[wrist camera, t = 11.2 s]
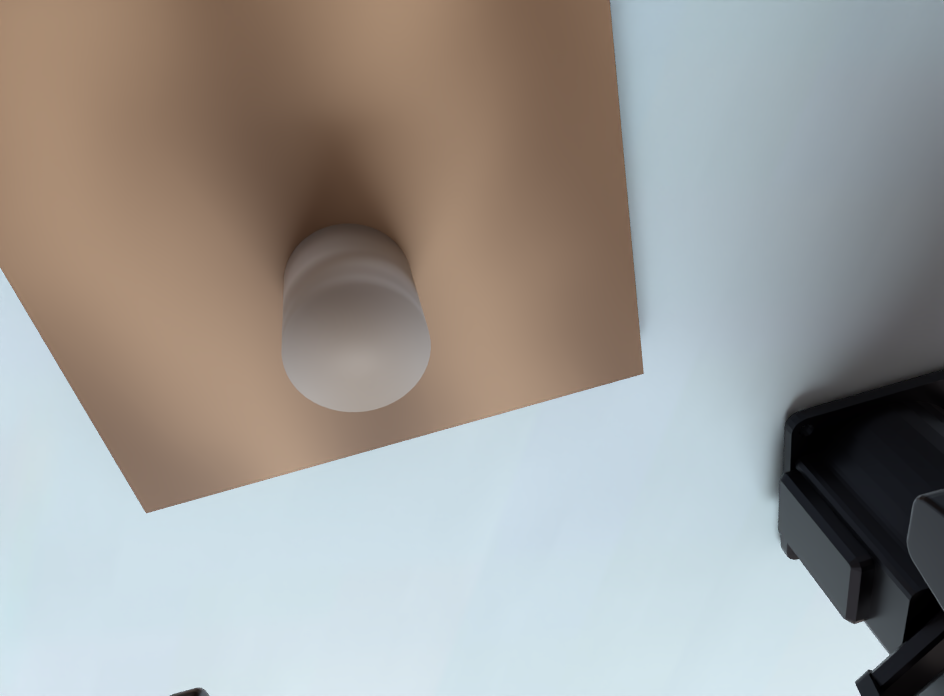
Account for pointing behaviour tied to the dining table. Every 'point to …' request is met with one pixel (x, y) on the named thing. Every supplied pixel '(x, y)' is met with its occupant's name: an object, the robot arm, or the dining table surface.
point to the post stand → (312, 221)
